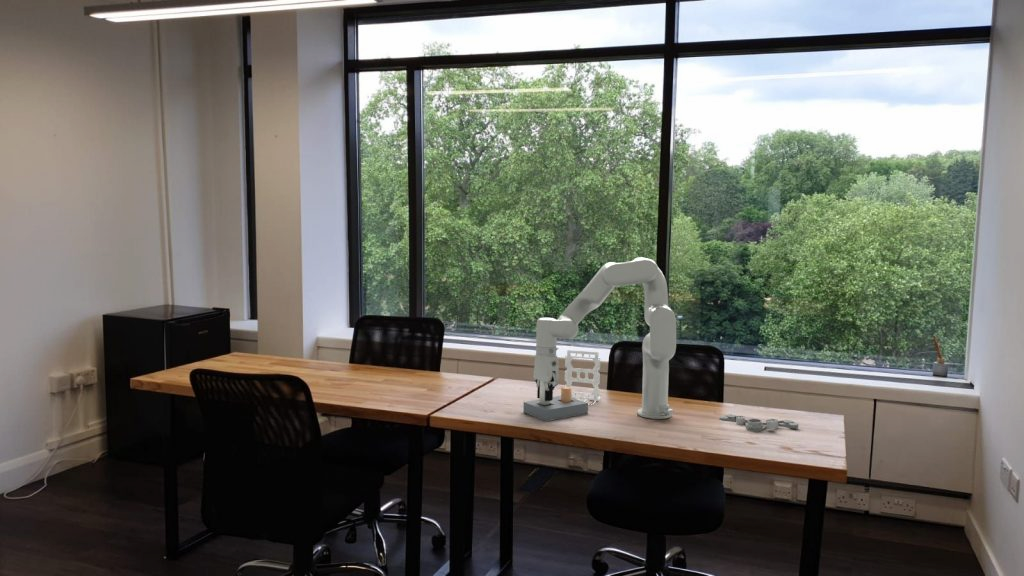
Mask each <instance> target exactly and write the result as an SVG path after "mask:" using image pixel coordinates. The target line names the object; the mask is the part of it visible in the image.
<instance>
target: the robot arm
mask: <svg viewBox="0 0 1024 576" xmlns="http://www.w3.org/2000/svg"><path fill="white" fill-rule="evenodd" d="M637 284H638V285H639V284H642V287H643V293H644V320H645V323H646V324H647V325H648V326H649V332H648V333H647V334H646V335H645V336H644V338H643V339H642V345H641V349H642V388H641V389H642V394H641V408H639V409H637V415H638V416H640V417H642V418H646V419H654V420H663V419H668V418H671V417H672V416H673V414H675V410H674V409H671V408H670V407H671V405H670V404H668V403H669V401H668V400H669V373H670V362H669V361H670V360H671V359H672V358H674V356H675V354H676V351H677V350H676V349H677V320H676V314H675V313H674V311H673V309H671V308H670V307H669V294H668V285H667V280H666V277H665V275H664V274H663V271H662V270H661V269H660V268H659V266H658V264H657V263H656V262H655V261H654V260H653V259H650V258H647V257H642V256H641V257H636V258H634V259H633V260H631V261H626V262H625V261H624V262H614V261H613V262H612V261H609V262H606V263H604V264H603V265H602V267H600V268H599V270H597V272H596V274H595V275H594V276H593V277H592V278H591V280H590V281H589V282H588V283H587V285H586V286H585V287H584V288H583V289H582V291H581V292H580V293H579V294H577V296H576V297H575V298H574V299H573V300H572V301H571V302H570V303H569V304H568V306H567V307H566V308H565V309H564V311H562V313H561V314H560V315H559V317H558V318H557V319H556V318H553V317H548V316H547V317H539V318H538V319H537V321H536V336H535V337H536V339H535V340H536V342H535V343H536V344H535V345H536V346H535V357H534V364H533V375H532V377H533V380H534V381H535V384H536V388H537V391H536V392H537V393H536V398H537V399H540V380H541V381H544V382H546V390H545V401H552V400H553V397H554V390H555V387H557V386H558V385H559V383H558V382H559V380H560V375H559V374H560V373H559V371H560V369H559V359H558V355H557V339H563V340H570V339H573V338H575V337H576V336H577V335H578V334H579V324H580V323H581V321H582V320H583V319H584V318H585V317H586V316H587V315H588V314H590V312H592V311H594V310H596V309H597V308H599V307H600V306H601V305H603V302H604V301H605V300H606V299H607V298H608V296H609V295H610V294H611V293H612V292H613V290H614V289H615V288H616V287H625V286H632V285H637ZM550 380H551V382H550ZM550 383H551V384H550ZM549 384H550V386H549Z"/></svg>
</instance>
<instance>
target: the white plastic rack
mask: <svg viewBox="0 0 1024 576" xmlns="http://www.w3.org/2000/svg"><path fill="white" fill-rule="evenodd" d="M572 354H575V355H574V356H573V355H572ZM599 354H600V353H599V352H598V351H597V352H596V351H583V350H582V351H581V350H571V349H569V350H567V351H566V355H565V356H564V357H565V358H564V359H565V360H564V367H566V370H564V382H566V384H564V387H571V388H572V384H573V382H574V383H584V384H585V383H586V384H592V386H593V388H594V389H593V391H591V392H592V393H591V392H589V393H587V392H580V391H572V398H574V399H578V400H584V402H585V401H586V400H596V401H597V402H600V401H601V399H602V398H601V396H600V387H599V385H600V381H601V379H600V377H601V373H600V372H599V370H601V358H600V357H599ZM578 355H581V356H578ZM585 355H588V357H587V356H585ZM591 355H594V357H591ZM574 358H575V359H586V360H587V359H588V360H592V361H593V363H594V366H593V367H592V368H578V367H577V368H576V367H574V366H573V365H572V361H573V359H574ZM572 372H573V373H576V377H573V376H572ZM581 373H583V374H584V378H581V376H580V375H581ZM589 374H592V375H593V377H592V379H591V378H590V379H589ZM577 395H580V396H577ZM584 395H587V396H586V397H585V396H584ZM590 396H593V397H590ZM596 401H595V402H596ZM595 402H594V403H595ZM597 402H596V403H597ZM594 403H593V405H592V404H591V405H590V406H594V405H595V404H596V403H595V404H594Z"/></svg>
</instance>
